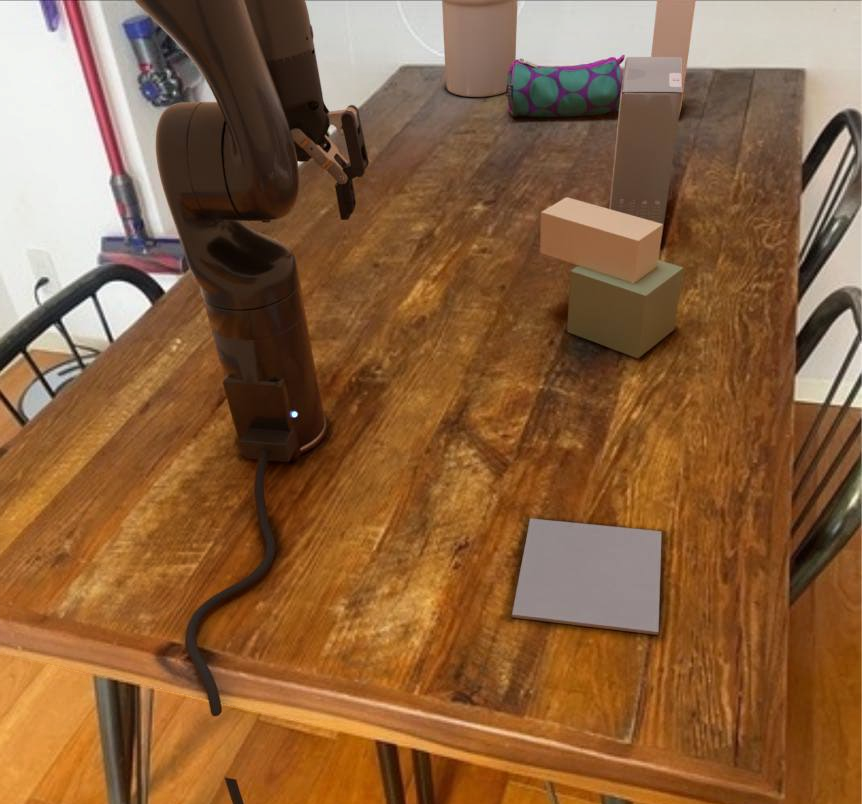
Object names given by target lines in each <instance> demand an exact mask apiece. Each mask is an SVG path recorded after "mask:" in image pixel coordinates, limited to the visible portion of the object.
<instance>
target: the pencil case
mask: <svg viewBox="0 0 862 804" xmlns="http://www.w3.org/2000/svg"><path fill="white" fill-rule="evenodd" d="M625 57H626V55H625V54H622V55H621V56H620V57H618V58H617V57H614V56H610V57H608V58H606V59H605V58H603V59H600V60H596V61H594V62H588V63H581V64H576V65H563V66H557V65H556V66H541V65H538V64H535V63H533V62H531V61H527V60H525V59H524V58H521V57H519V58H516V59H515V62H513V63H512V64H511V66H510V69H509V72H508V78H507V88H506V92H505V97H507V101H508V102H507V104H508V106H507V107H508V110H509V113H510V115H511V116H512V117H527V118H570V117H584V116H593V115H594V116H595V115H603V114H606V113H613V114H616V113H619V105H620V96H621V88H622V81H623V72H622V67H621V64H622V63H623V62H624V61H625Z"/></svg>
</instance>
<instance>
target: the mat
mask: <svg viewBox="0 0 862 804" xmlns="http://www.w3.org/2000/svg"><path fill="white" fill-rule="evenodd" d="M662 538H663V537H662V531H661V530H652V529H643V528H633V527H632V528H631V527H622V526H611V525H601V524H591V523H581V522H570V521H561V520H560V521H559V520H551V519H540V518H532V517H531V518H529V522H528V528H527V533H526V539H525V543H524V548H523V555H522V560H521V563H520V564H521V565H520V570H519V576H518V581H517V586H516V591H515V596H514V601H513V607H512V613H511V618H515V619H522V620H531V621H539V622H548V623H555V624H565V625H572V626H581V627H588V628H589V627H590V628H597V629H605V630H612V631H621V632H629V633H638V634H646V635H647V634H648V635H655V636H659V632H660V630H659V629H660V598H661V596H660V595H661V591H660V590H661V568H662V567H661V565H662Z"/></svg>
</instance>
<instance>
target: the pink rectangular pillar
mask: <svg viewBox="0 0 862 804" xmlns="http://www.w3.org/2000/svg"><path fill="white" fill-rule="evenodd" d="M695 7H696V0H656V6H655V15H654V26H653V35H652V45H651V53H650V57H681V58H682V92H683V93H682V99H681V106H680V113H679V116H680V114H681V111H682V107H683V99H684V98H683V97H684V92H685V91H684V89H685V82H686V75H687V69H688V68H687V67H688V62H689V61H688V60H689V53H690V45H691V38H692V31H693V22H694V16H695Z"/></svg>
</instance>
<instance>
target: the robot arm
mask: <svg viewBox="0 0 862 804" xmlns="http://www.w3.org/2000/svg"><path fill="white" fill-rule="evenodd" d="M133 2H134V3H135V4H136V5H137V6H138V7H139V8H140V9H141V10H142V11H144V13H145V14H146V15H148V17H150V18H151V20H153V21H154V22H155V23H156V25H158V27H160V28H161V29H162V30H163V31H164V32H165V33H166V34H167V35H168V36H169V38H171V39H172V40H173V41H174V42H175V43H176V44H177V45H178V47H179V48H180V49H181V50H182V51H183V52H184V53H185V54H186V55H187V57H188V58H189V59H190V60H191V61H192V62H193V64H194V65H195V67H196V68H197V69H198V72H200V74H201V76H202V77H203V79H204V80H205V82H206V84H207V85H208V87H209V89H210V90H211V93H212V95H213V97H214V99H215V101H185V102H184V101H183V102H182V101H181V102H176V103H173V104H171V105H169V106H168V107H166V108H165V110H164V111H163V112H162V113H161V115H160V117H159V119H158V123H157V125H156V131H155V156H156V165H157V170H158V174H159V178H160V182H161V186H162V190H163V193H164V196H165V200H166V203H167V206H168V209H169V212H170V214H171V217H172V220H173V223H174V226H175V230H176V232H177V235H178V238H179V241H180V244H181V247H182V250H183V254H184V257H185V261H186V263H187V266H188V269H189V271H190V273H191V275H192V276H193V278H194V279H195V281H196V282H197V284H198V287H199V289H200V293H201V296H202V300H203V304H204V307H205V310H206V314H207V318H208V323H209V326H210V330H211V334H212V337H213V341H214V345H215V349H216V352H217V356H218V360H219V363H220V367H221V368H220V369H221V372H222V375H223V380H222V386H223V389H224V393H225V397H226V400H227V404H228V407H229V412H230V415H231V419H232V422H233V426H234V430H235V432H236V433H235V434H236V437H237V442H238V444H239V448H240V452H241V456H243V457H244V459H247V460H248V459H249V460H257V466H256V469H255V477H254V498H255V505H256V513H257V518H258V523H259V527H260V530H261V533H262V535H263V538H264V541H265V553H264V556H263V557H262V560H261V562H260V563H259V565H258V566H257V567H256V569H254V570H253V571H252V572H251V573H250V574H248V575H247V576H246V577H244V578H242V579H241V580H238V581H237V582H236V583H233V584H232V585H230V586H228V587H226V588H225V589H223V590H221V591H220V592H217V593H216V594H214V595H212V596H211V597H209V598H208V599H207V600H205V602H203V603H202V604H201V605H199V607H198V608H197V609H196V610H195V611H194V612H193V614H192V616H191V618H190V619H189V622H188V624H187V628H186V630H185V631H186V632H185V642H184V643H185V649H186V652H187V654H188V656H189V658H190V661H191V662H192V664H193V666H194V667H195V670H196V671H197V673H198V675H199V677H200V679H201V681H202V684H203V686H204V689H205V692H206V697H207V700H208V705H209V710H210V714H211V716H213V717H218V716H220V715H221V714H222V712H223V707H222V702H221V697H220V694H219V690H218V686H217V684H216V681H215V678H214V675H213V674H212V672H211V669H210V668H209V666H208V664H207V662H206V661H205V659H204V657H203V656H202V654H201V651H200V649H199V646H198V643H197V633H198V629H199V627H200V624H201V623H202V621H203V619H204V618H205V617H206V616H207V614H208V613H209V612H210V611H212V610H213V609H214V608H216V607H217V606H218V605H220V604H221V603H223V602H225V601H226V600H228V599H230V598H232V597H234V596H235V595H237V594H239V593H241V592H243V591H244V590H246V589H248V588H250V587H251V586H252V585H254V584H255V583H256V582H258V581H259V580H260V579H261V578H262V577H264V576H265V574H266V573H267V572H268V570H269V569H270V567H271V566H272V564H273V562H274V558H275V556H276V541H275V536H274V533H273V530H272V528H271V525H270V521H269V518H268V512H267V506H266V499H265V491H264V489H265V488H264V485H265V483H264V481H265V474H266V468H267V464H268V461H269V462H281V463H290V461H292V462H295V461H298V460H299V458H300V456H302V454H305V453H306V452H309V451H310V450H312V449H313V448H315V447H317V446H318V444H320V442H322V441H323V439H324V437H325V435H326V434H327V429H328V425H327V419H326V415H325V414H324V408H323V402H322V397H321V392H320V385H319V380H318V375H317V369H316V364H315V358H314V353H313V348H312V342H311V336H310V330H309V326H308V320H307V315H306V309H305V303H304V302H305V301H304V298H303V297H304V296H303V292H302V291H303V290H302V286H301V280H300V276H299V269H298V264H297V260H296V257H295V255H294V252H293V251H292V249H290V248H289V246H287V244H286V243H284V242H282V241H281V240H278V239H276V238H274V237H273V236H272V237H271V236H269V235H267V234H264V233H263V232H261V231H259V230H257V229H255V228H253V227H251V226H250V225H248V224H247V223H246V222H262V223H265V224H266V223H271V221H274V220H275V221H276V220H279V219H283V218H285V217H286V216H287V215H289V213H291V212H292V211H293V209H294V207H295V205H296V203H297V201H298V196H299V189H300V172H299V163H305V162H307V163H308V162H309V160H311V159H312V160H313V161H314V162H315V163H316V164H317V165H318V166H319V167H320V168H321V169H323V170H325V171H326V172H328V174H329V175H330V176H331V177H332V178H333V179H334V180H335V181H336V182H335V185H334V189H335V194H336V200H337V205H338V211H339V216H340V220H341V221H348V220H349V219H350V217H351V216H352V215H353V213H354V211H355V209H356V207H357V201H356V193H355V188H354V182H353V179H356V178H361V177H363V176H364V174H365V171H366V169H367V168H368V167H369V164H370V161H369V156H368V151H367V147H366V141H365V136H364V132H363V127H362V122H361V118H360V117H361V116H360V112H359V109H358V107H357V106H356V105H353V104H349V105H347V107H346V108H345V109H340V110H331V111H330V110H329V108H327V107H328V106H326V103H325V101H324V95H323V89H322V84H321V78H320V72H319V65H318V61H317V54H316V48H315V42H314V38H315V36H314V31H313V26H312V24H311V19H310V14H309V9H308V6H307V2H306V0H133ZM331 126H333V127H335V129H336V130H337V133H338V134H339V135H340V136H342V137H343V136H344V141H345V145H346V148H347V149H346V150H347V154H348V158H349V161H347V159H346V158H345V157H344V156H343V155H342V154H341V153H340V151H339V148H338V147H337V145H336V144H335V143H334V142H333V141H332V140H331V139H330V137H328V136H327V133H328V131H329V129H330V128H331ZM224 781H225V784H226V787H227V790H228V793H229V796H230V800H231V803H232V804H245V803H244V800H243V797H242V794H241V790H240V787H239V784H238V780H237V779H236V778H231V777H230V778H229V777H224Z"/></svg>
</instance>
